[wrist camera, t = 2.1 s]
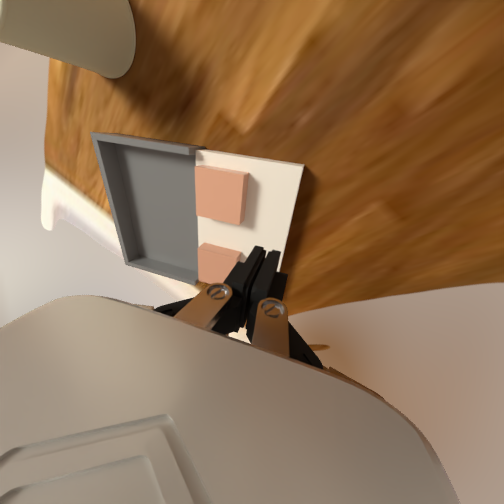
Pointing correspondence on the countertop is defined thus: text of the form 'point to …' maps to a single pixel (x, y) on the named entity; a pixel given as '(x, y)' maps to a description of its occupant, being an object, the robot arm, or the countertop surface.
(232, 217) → the tile
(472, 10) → the countertop surface
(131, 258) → the tray
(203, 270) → the tile
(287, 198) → the plate
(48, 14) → the can
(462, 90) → the countertop surface
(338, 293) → the countertop surface
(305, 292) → the countertop surface
